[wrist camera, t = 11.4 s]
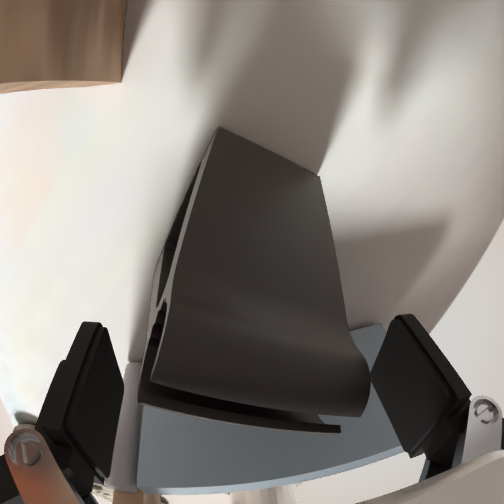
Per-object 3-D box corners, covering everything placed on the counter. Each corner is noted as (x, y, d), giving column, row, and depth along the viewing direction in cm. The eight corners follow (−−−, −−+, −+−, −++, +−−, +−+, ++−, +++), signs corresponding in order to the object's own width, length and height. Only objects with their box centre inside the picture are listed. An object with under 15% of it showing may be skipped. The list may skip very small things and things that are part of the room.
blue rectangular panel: (131, 377, 22) (115, 492, 13) (122, 362, 21) (101, 482, 12) (377, 338, 23) (431, 440, 14) (380, 322, 22) (441, 427, 13)
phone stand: (218, 125, 15) (231, 211, 4) (318, 175, 17) (459, 316, 6) (154, 267, 18) (115, 457, 8) (244, 299, 20) (274, 480, 10)
